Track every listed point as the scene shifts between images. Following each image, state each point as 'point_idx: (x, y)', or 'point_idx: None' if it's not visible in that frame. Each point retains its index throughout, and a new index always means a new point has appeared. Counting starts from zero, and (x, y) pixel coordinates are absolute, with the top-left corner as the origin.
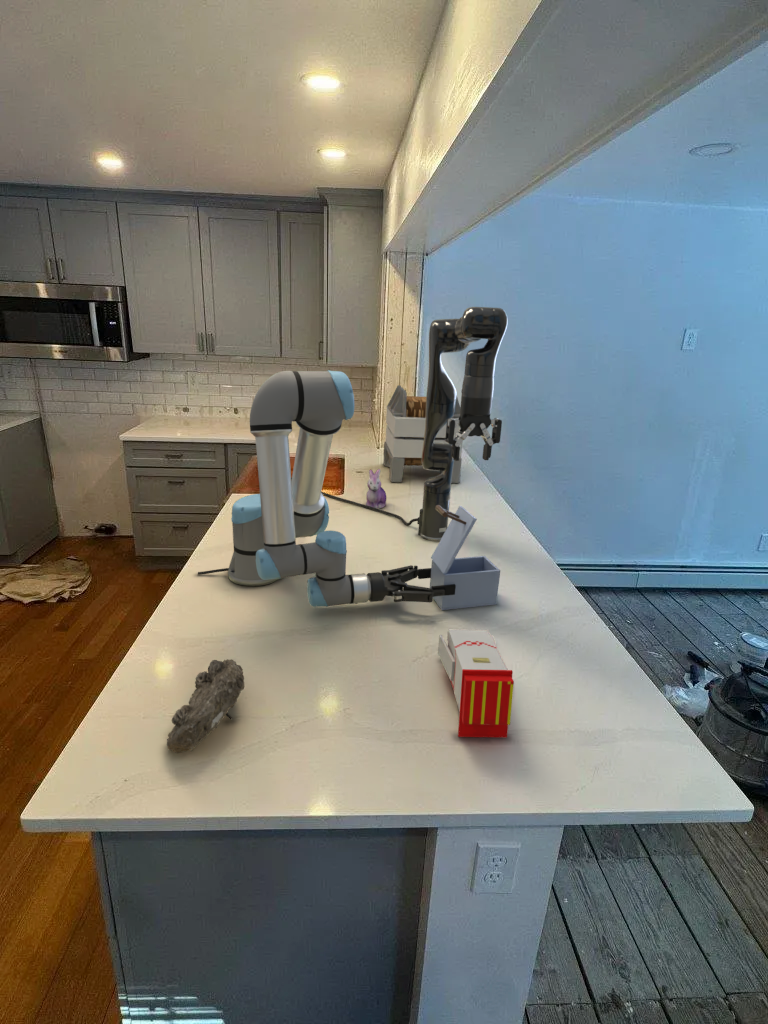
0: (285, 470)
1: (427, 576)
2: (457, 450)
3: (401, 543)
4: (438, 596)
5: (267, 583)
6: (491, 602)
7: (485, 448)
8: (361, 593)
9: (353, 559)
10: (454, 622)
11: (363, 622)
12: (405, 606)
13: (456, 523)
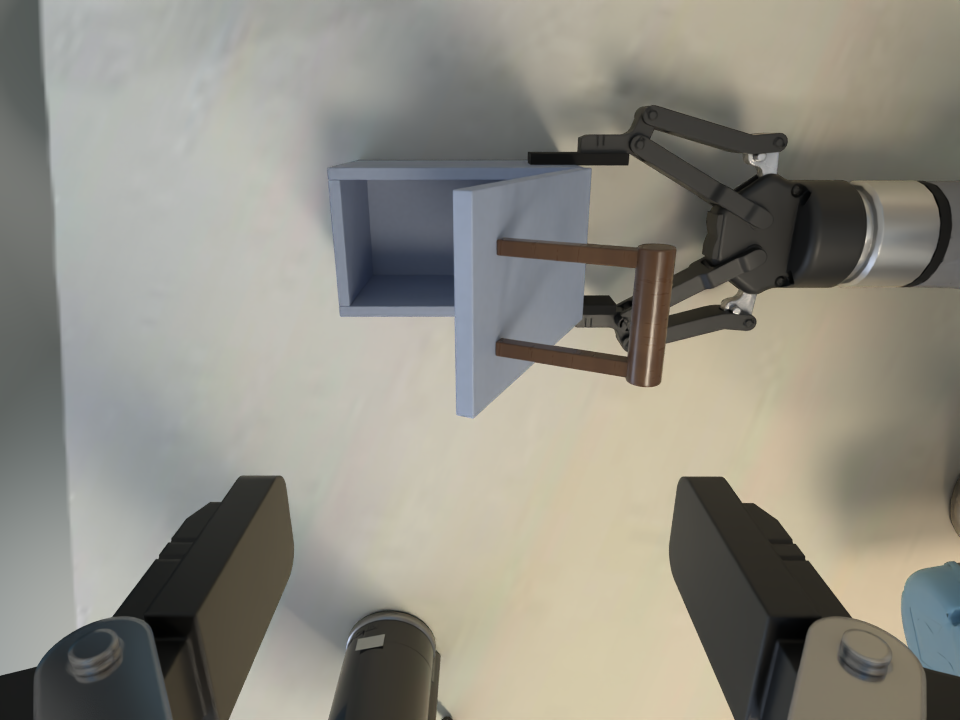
0: None
1: None
2: (782, 570)
3: (514, 613)
4: None
5: None
6: (375, 160)
7: (230, 629)
8: (891, 181)
9: None
10: (552, 68)
11: (845, 134)
12: (669, 210)
13: (512, 323)
